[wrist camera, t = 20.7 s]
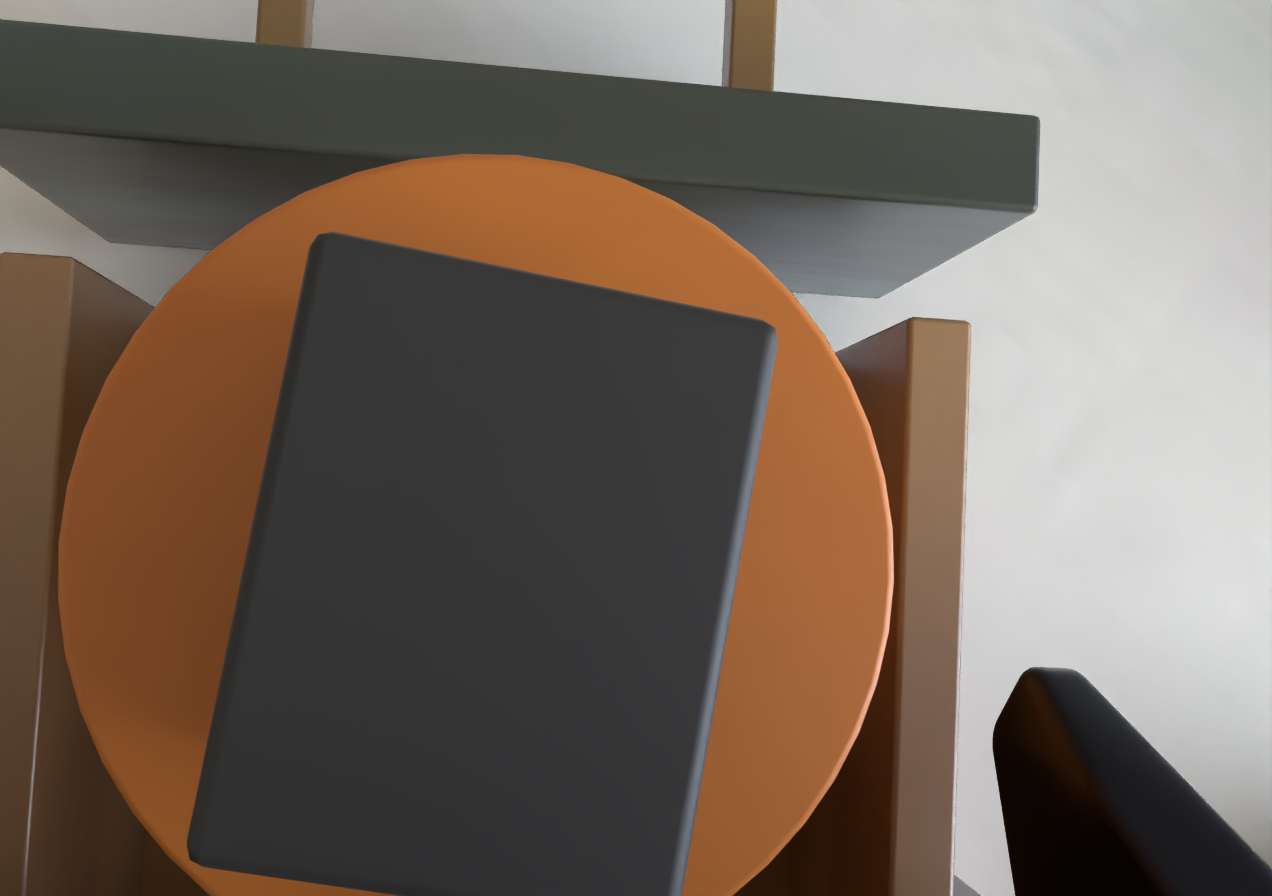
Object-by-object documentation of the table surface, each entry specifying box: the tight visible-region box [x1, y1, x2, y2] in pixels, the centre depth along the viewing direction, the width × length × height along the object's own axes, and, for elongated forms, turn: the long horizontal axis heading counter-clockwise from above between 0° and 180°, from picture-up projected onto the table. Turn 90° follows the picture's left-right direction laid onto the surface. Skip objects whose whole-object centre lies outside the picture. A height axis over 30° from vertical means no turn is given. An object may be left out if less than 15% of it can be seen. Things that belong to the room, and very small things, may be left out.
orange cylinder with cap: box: [58, 154, 894, 896], centre depth 11 cm, size 5×5×13 cm
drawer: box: [0, 0, 1040, 896], centre depth 16 cm, size 17×12×6 cm
